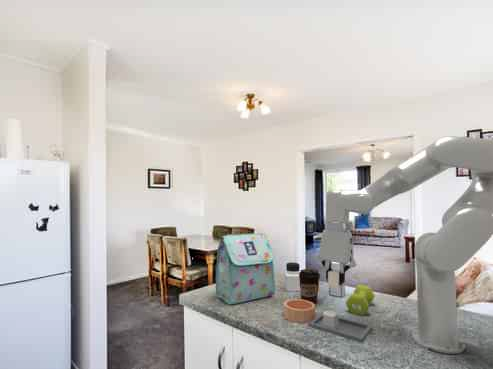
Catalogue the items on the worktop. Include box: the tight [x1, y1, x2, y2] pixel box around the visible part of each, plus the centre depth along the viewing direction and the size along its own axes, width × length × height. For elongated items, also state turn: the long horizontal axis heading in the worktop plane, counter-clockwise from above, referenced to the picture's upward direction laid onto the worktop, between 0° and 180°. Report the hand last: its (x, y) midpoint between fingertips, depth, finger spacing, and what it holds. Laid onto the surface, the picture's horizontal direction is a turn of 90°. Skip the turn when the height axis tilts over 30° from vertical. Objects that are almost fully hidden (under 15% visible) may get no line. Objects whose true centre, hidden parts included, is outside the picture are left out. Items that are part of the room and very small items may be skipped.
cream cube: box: [327, 270, 343, 288], centre depth 94 cm, size 4×4×4 cm
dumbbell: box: [345, 284, 376, 316], centre depth 108 cm, size 16×8×7 cm, turn 147°
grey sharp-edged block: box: [323, 310, 339, 330], centre depth 90 cm, size 4×4×4 cm
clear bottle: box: [328, 262, 346, 298], centre depth 124 cm, size 6×6×14 cm
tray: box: [308, 312, 373, 343], centre depth 91 cm, size 16×11×2 cm, turn 52°
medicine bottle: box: [283, 261, 301, 292], centre depth 132 cm, size 7×7×12 cm
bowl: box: [283, 298, 316, 324], centre depth 100 cm, size 10×10×4 cm
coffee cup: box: [299, 268, 321, 306], centre depth 114 cm, size 9×8×13 cm
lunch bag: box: [215, 233, 276, 306], centre depth 122 cm, size 23×16×27 cm
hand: (335, 282), depth 94 cm, fingers closed on cream cube, 3 cm apart
